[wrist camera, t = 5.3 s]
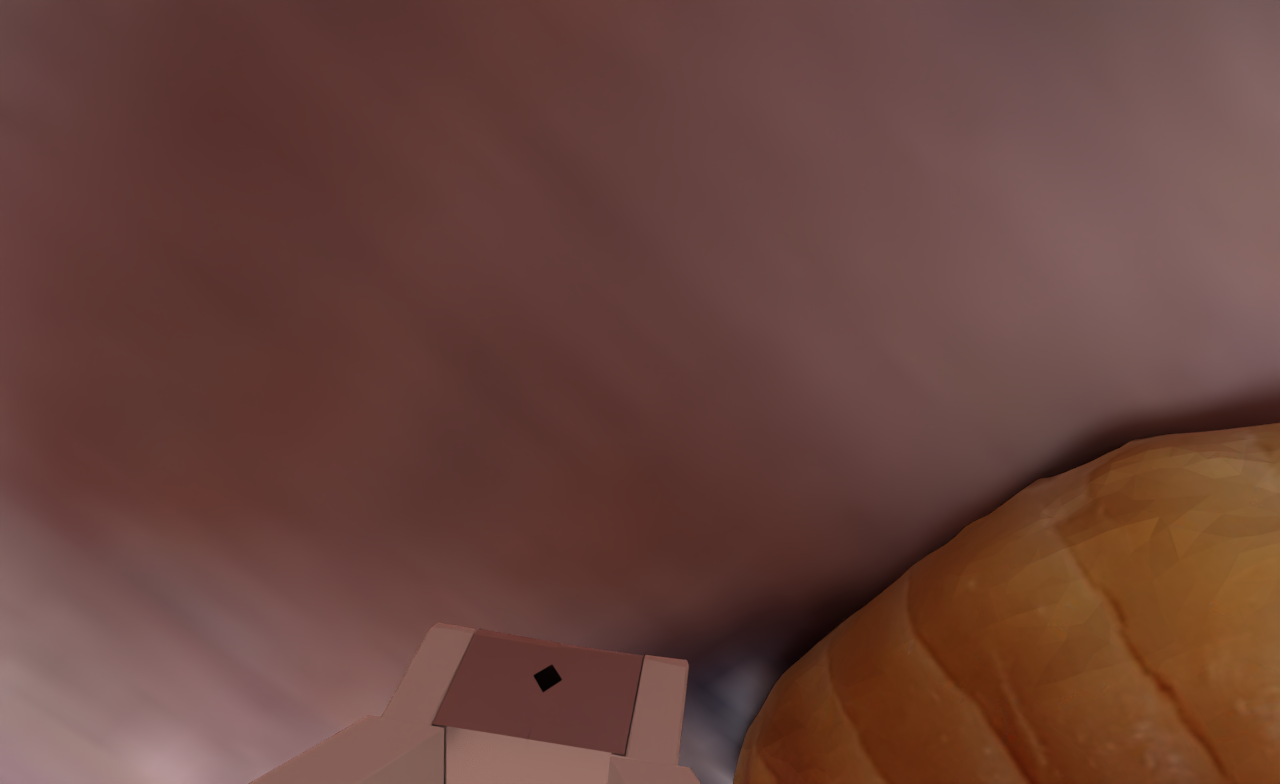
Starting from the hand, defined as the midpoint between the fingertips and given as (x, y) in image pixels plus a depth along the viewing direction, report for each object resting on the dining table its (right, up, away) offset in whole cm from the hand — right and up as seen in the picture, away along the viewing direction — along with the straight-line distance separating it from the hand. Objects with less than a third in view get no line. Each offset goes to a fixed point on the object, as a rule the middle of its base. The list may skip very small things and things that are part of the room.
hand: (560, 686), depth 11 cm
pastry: (+7, 0, +2) cm, 8 cm away
